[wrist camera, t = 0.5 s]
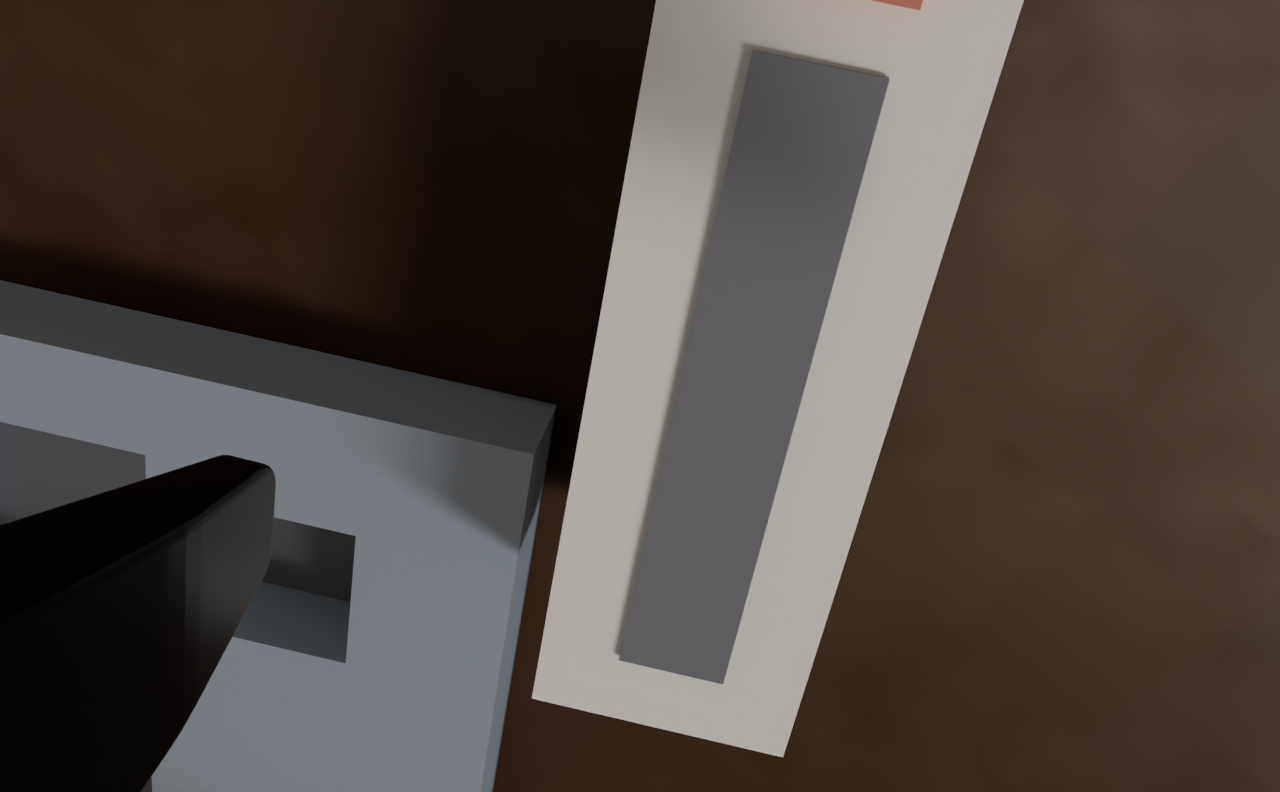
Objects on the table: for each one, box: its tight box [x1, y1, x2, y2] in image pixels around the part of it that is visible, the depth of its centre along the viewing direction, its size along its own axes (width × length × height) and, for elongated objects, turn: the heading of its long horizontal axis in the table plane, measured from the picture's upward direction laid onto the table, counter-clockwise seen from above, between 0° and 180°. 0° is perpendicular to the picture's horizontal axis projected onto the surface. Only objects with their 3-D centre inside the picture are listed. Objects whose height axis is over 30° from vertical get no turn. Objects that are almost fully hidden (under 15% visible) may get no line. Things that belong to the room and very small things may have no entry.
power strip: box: [532, 0, 1024, 757], centre depth 17 cm, size 13×4×5 cm, turn 170°
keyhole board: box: [0, 280, 557, 792], centre depth 24 cm, size 16×14×2 cm
